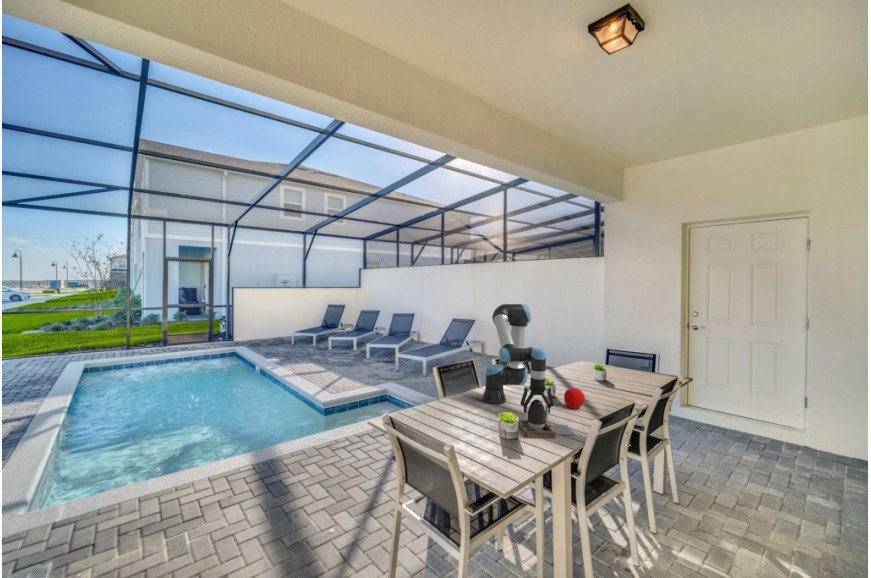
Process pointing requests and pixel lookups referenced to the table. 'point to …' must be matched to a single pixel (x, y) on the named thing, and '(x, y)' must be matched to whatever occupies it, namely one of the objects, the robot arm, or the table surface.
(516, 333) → the robot arm
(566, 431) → the rubber mat
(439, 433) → the table surface
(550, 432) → the frame
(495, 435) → the table surface
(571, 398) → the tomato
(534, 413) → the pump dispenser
